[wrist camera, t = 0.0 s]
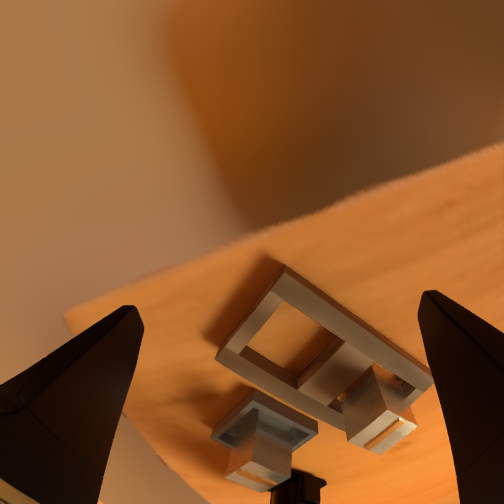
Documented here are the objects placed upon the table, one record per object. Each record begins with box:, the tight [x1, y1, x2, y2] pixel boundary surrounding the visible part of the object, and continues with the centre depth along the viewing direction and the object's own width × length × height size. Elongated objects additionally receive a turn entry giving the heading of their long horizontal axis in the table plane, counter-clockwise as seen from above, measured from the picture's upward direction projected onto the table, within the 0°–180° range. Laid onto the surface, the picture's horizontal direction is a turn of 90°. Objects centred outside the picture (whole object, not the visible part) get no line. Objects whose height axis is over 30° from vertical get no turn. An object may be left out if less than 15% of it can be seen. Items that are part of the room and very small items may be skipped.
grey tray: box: [210, 389, 318, 452], centre depth 28 cm, size 8×8×2 cm
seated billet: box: [340, 364, 418, 455], centre depth 23 cm, size 4×4×7 cm
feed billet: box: [225, 410, 293, 493], centre depth 25 cm, size 4×4×7 cm
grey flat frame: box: [214, 265, 434, 432], centre depth 25 cm, size 10×19×2 cm, turn 55°
